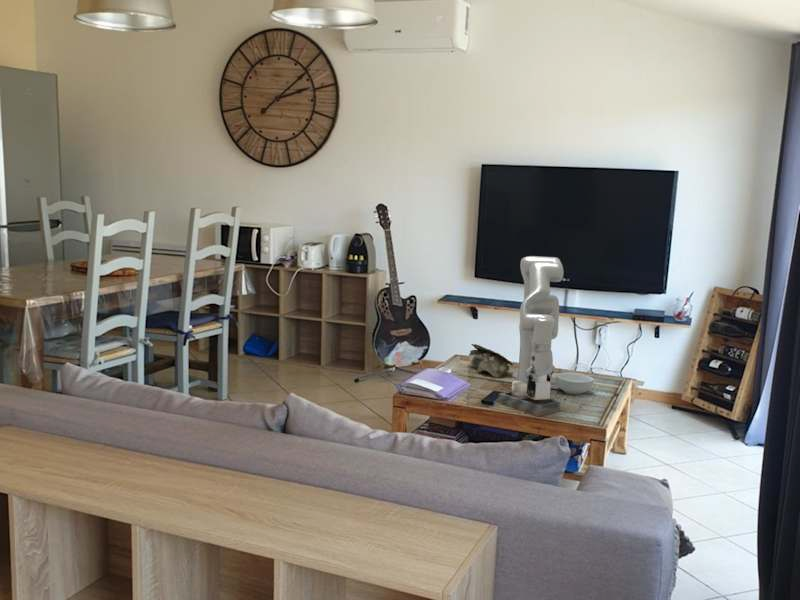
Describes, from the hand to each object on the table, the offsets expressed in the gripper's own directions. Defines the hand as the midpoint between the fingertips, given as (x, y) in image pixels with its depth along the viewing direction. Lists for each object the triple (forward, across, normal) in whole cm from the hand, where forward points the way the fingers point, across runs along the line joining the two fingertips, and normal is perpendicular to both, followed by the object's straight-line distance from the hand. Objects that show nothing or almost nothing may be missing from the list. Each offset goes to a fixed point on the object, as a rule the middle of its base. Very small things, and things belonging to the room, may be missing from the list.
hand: (539, 388), depth 331 cm
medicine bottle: (+4, 0, 0) cm, 4 cm away
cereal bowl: (+9, +35, +9) cm, 37 cm away
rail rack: (+9, 0, +5) cm, 10 cm away
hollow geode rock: (+9, +29, +56) cm, 64 cm away
